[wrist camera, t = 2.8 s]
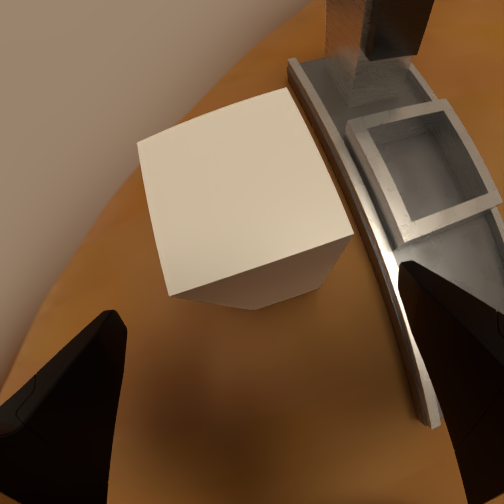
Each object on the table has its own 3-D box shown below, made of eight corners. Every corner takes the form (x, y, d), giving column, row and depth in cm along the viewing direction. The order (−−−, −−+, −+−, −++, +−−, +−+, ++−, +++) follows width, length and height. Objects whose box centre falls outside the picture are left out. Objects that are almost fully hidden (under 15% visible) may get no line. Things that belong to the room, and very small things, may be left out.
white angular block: (318, 288, 18) (354, 234, 6) (253, 310, 19) (169, 296, 7) (293, 216, 19) (278, 72, 7) (231, 238, 20) (134, 125, 8)
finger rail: (521, 358, 15) (675, 368, 1) (417, 419, 16) (554, 531, 2) (388, 58, 21) (417, -85, 7) (287, 79, 22) (266, -87, 8)
